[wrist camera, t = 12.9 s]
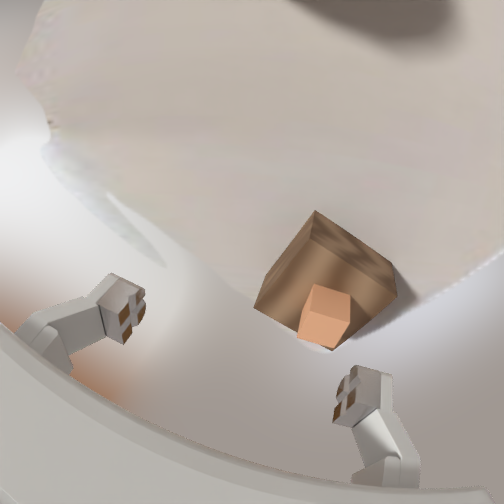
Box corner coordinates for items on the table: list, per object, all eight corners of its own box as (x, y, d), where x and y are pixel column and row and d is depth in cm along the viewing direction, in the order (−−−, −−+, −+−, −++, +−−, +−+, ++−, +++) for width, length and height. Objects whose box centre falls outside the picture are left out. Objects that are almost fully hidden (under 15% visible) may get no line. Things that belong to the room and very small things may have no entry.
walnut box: (390, 261, 42) (397, 296, 35) (335, 315, 50) (332, 351, 44) (315, 209, 41) (309, 238, 35) (266, 274, 49) (253, 307, 43)
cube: (350, 295, 37) (349, 322, 33) (336, 320, 40) (333, 348, 36) (313, 283, 38) (309, 310, 34) (302, 310, 41) (296, 337, 37)
